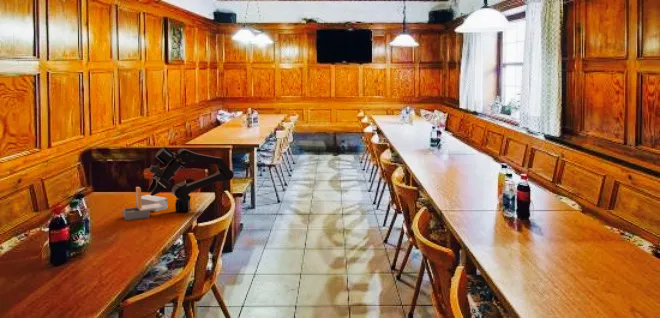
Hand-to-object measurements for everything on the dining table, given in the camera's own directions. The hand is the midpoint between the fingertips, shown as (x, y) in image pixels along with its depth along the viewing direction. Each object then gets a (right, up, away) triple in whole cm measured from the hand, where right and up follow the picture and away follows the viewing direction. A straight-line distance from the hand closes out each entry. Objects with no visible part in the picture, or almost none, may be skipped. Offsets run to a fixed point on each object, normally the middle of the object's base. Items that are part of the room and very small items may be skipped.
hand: (149, 193), depth 246 cm
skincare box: (-11, -5, +18) cm, 22 cm away
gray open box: (-6, -11, -2) cm, 13 cm away
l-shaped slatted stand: (0, -7, +1) cm, 7 cm away
